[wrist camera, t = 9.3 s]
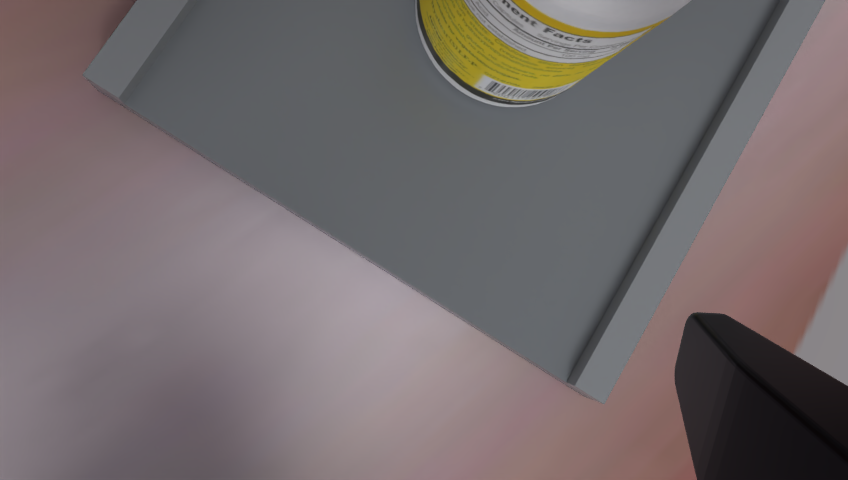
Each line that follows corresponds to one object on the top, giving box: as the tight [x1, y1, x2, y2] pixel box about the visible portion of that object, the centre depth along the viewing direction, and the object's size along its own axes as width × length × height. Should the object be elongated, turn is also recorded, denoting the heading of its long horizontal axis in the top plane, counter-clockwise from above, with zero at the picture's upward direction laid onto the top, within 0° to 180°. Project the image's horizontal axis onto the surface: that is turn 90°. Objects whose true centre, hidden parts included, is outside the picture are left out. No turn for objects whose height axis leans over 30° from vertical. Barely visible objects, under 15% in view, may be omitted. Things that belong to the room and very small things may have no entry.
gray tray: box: [83, 0, 825, 404], centre depth 20 cm, size 16×16×1 cm
